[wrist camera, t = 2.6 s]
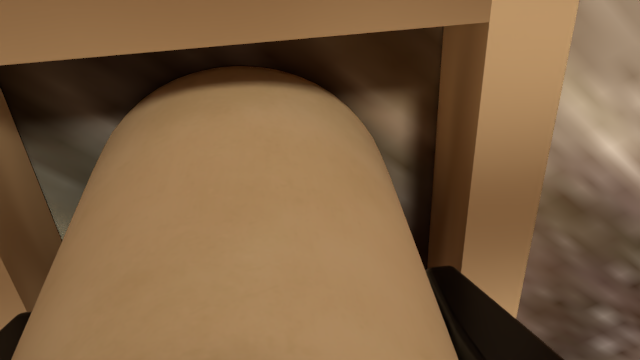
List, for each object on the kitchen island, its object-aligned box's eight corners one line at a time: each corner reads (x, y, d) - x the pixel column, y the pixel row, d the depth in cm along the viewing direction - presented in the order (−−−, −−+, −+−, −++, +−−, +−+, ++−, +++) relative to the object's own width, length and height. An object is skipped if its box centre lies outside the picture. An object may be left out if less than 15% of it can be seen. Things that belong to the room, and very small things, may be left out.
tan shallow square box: (469, 335, 14) (498, 406, 12) (65, 383, 14) (40, 464, 12) (529, -105, 9) (596, -83, 7) (-145, -54, 8) (-248, -16, 6)
